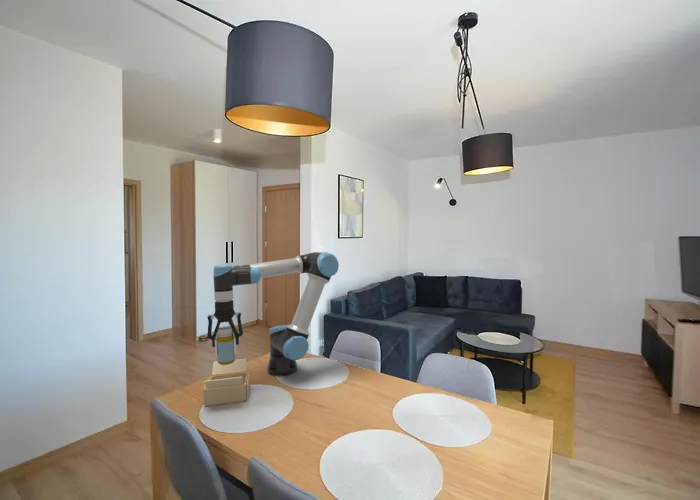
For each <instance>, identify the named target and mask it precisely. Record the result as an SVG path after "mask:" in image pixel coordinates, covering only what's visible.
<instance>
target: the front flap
mask: <svg viewBox="0 0 700 500" xmlns="http://www.w3.org/2000/svg"><path fill="white" fill-rule="evenodd" d="M203 382H204V386H205V385H206V388H207V389H209V388H218V387H226V386H234V385H242V384H243V378H242V377H233V378H225V379H216V380H208V379H207V380H204V381H203Z"/></svg>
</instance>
